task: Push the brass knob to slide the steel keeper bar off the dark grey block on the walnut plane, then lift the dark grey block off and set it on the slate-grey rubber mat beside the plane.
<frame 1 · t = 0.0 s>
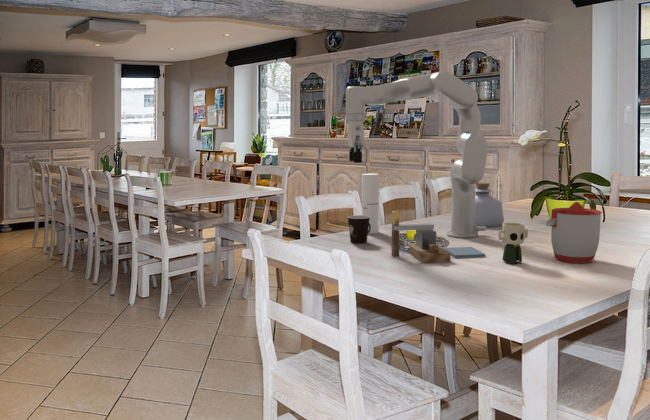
hand: (355, 161, 244), 31 cm above the table, tool pointing down, fingers open, 9 cm apart
dark grey block: (425, 246, 218), point 3 cm above the table, touching plane
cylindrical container: (370, 232, 264), on the table
citrus juicer: (571, 260, 208), on the table
mat: (463, 253, 220), on the table
bottle: (481, 224, 284), on the table
coffee mug: (359, 243, 241), on the table
latch: (412, 220, 216), point 13 cm above the table, slide at 0.0 cm
plane: (425, 255, 218), on the table
character mug: (512, 263, 206), on the table
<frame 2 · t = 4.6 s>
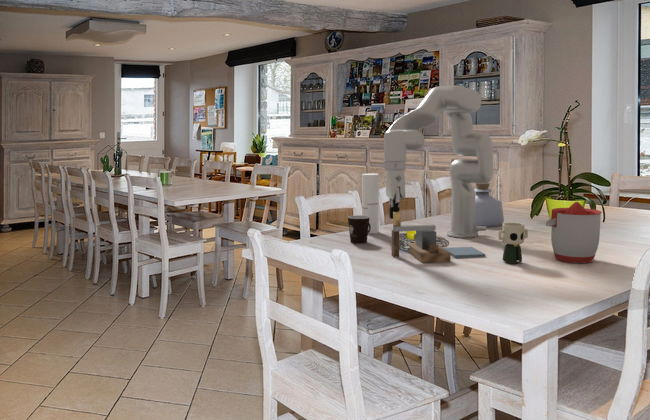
hand: (394, 218, 216), 13 cm above the table, tool pointing down, fingers closed
latch: (414, 220, 214), point 13 cm above the table, slide at 1.9 cm, touching gripper
everything else where it was.
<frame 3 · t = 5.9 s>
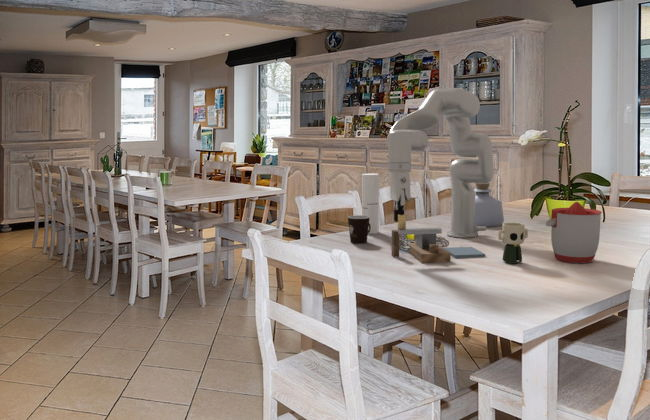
hand: (399, 221, 210), 13 cm above the table, tool pointing down, fingers closed
latch: (419, 223, 207), point 13 cm above the table, slide at 8.5 cm, touching gripper
everything else where it was.
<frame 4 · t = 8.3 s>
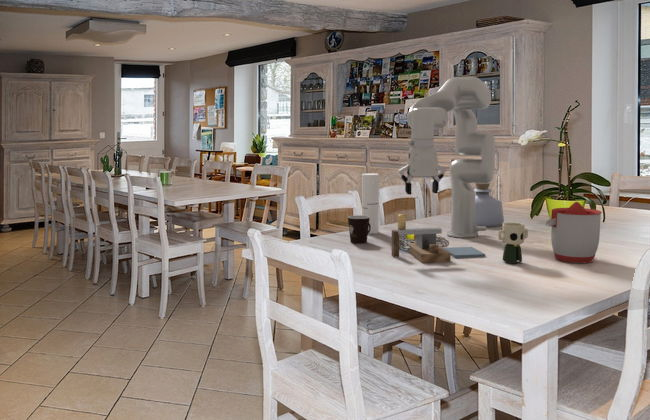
hand: (421, 193, 214), 22 cm above the table, tool pointing down, fingers open, 9 cm apart
latch: (419, 223, 207), point 13 cm above the table, slide at 8.5 cm
everything else where it was.
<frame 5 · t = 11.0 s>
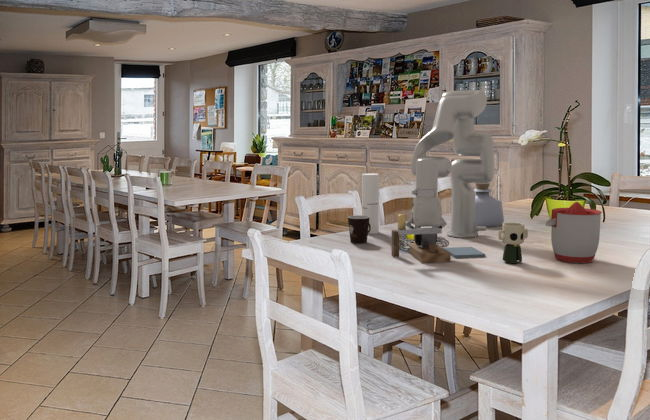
hand: (425, 244, 217), 4 cm above the table, tool pointing down, fingers closed on dark grey block, 5 cm apart
dark grey block: (425, 246, 218), point 3 cm above the table, touching gripper, plane
everything else where it was.
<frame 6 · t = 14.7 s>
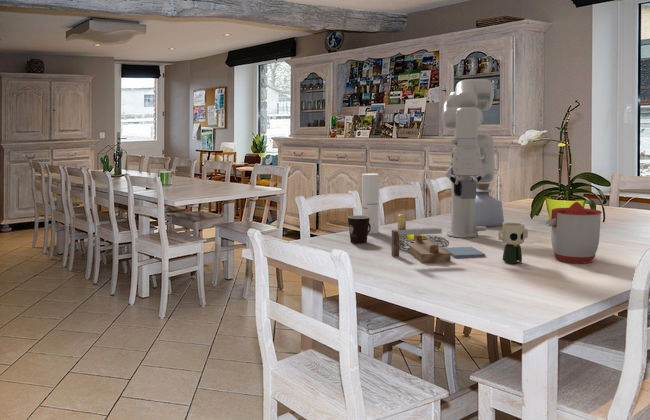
hand: (464, 194, 217), 21 cm above the table, tool pointing down, fingers closed on dark grey block, 5 cm apart
dark grey block: (464, 197, 217), point 20 cm above the table, touching gripper
everything else where it was.
when the fingers open (3 cm above the table, at t = 18.4 s): dark grey block drops 1 cm, resting on mat.
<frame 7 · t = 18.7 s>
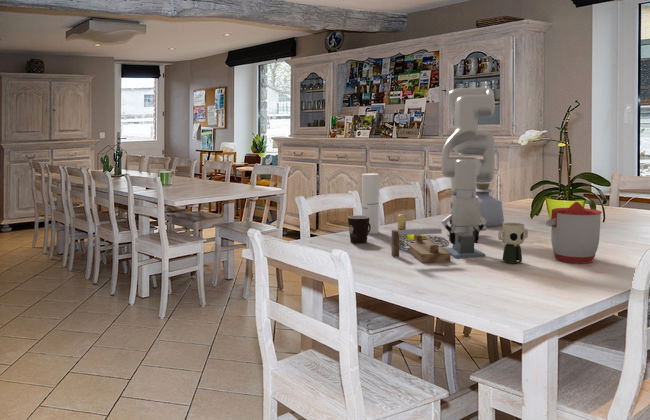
hand: (463, 242, 219), 4 cm above the table, tool pointing down, fingers open, 7 cm apart
dark grey block: (463, 250, 220), point 1 cm above the table, touching mat
everything else where it was.
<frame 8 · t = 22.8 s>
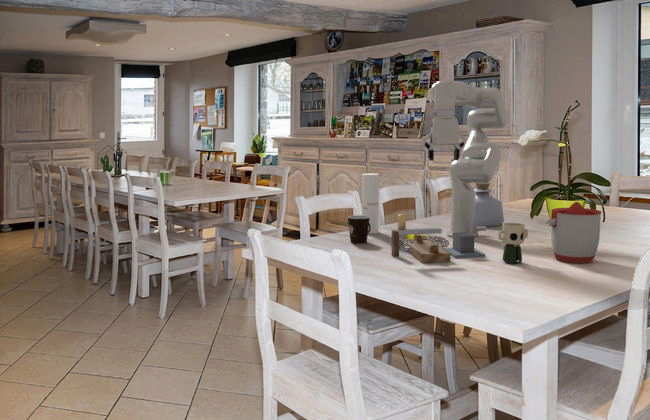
hand: (443, 160, 233), 32 cm above the table, tool pointing down, fingers open, 9 cm apart
nothing on the table moved.
at the end: latch slide at 8.5 cm; dark grey block inside the target area on the mat (0.2 cm from its centre), point 1.0 cm above the mat's base; dark grey block tilted 0° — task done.
